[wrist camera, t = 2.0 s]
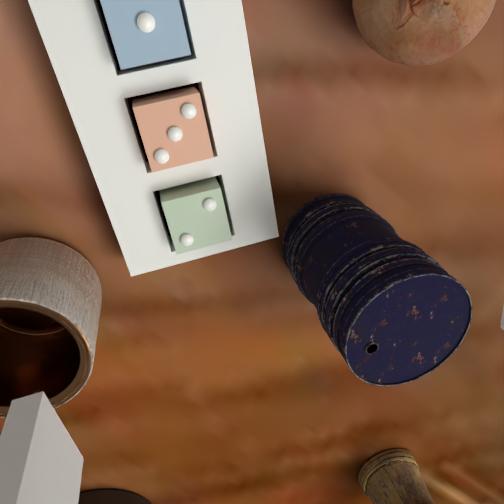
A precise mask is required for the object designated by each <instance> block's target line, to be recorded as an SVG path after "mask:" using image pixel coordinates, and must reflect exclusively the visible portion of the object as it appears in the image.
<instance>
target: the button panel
mask: <svg viewBox="0 0 504 504" xmlns="http://www.w3.org/2000/svg"><path fill="white" fill-rule="evenodd" d="M179 1H180V5H181V10H182V14H183V19H184V23H185V28H186V32H187V37H188V41H189V46H190V50H191V56H186V57H181V58H177V59H172V60H167V61H163V62H158V63H153V64H149V65H144V66H139V67H135V68H130V69H125V70H121V71H118V68H117V65H116V62H115V59H114V55H113V52H112V49H111V45H110V42H109V39H108V36H107V32H106V29H105V26H104V23H103V19H102V16H101V13H100V9H99V6H98V3H97V0H28V2H29V5H30V7H31V10H32V13H33V15H34V18H35V21H36V23H37V26H38V29H39V31H40V34H41V37H42V39H43V42H44V45H45V47H46V50H47V53H48V55H49V58H50V61H51V63H52V66H53V69H54V71H55V74H56V77H57V79H58V82H59V85H60V87H61V90H62V93H63V95H64V98H65V101H66V103H67V106H68V109H69V111H70V114H71V117H72V119H73V122H74V125H75V127H76V130H77V133H78V135H79V138H80V141H81V143H82V146H83V149H84V151H85V154H86V157H87V159H88V162H89V165H90V167H91V170H92V173H93V175H94V178H95V181H96V183H97V186H98V189H99V191H100V194H101V197H102V199H103V202H104V205H105V207H106V210H107V213H108V215H109V218H110V221H111V223H112V226H113V229H114V231H115V234H116V237H117V239H118V242H119V245H120V247H121V250H122V253H123V255H124V258H125V261H126V263H127V266H128V269H129V271H130V274H131V277H132V276H135V275H139V274H143V273H146V272H150V271H154V270H157V269H161V268H165V267H168V266H172V265H176V264H180V263H183V262H187V261H191V260H194V259H198V258H202V257H205V256H209V255H213V254H217V253H220V252H224V251H228V250H231V249H235V248H239V247H242V246H246V245H250V244H254V243H257V242H261V241H265V240H268V239H272V238H276V237H279V234H278V227H277V221H276V215H275V209H274V202H273V196H272V190H271V183H270V177H269V171H268V165H267V158H266V152H265V146H264V139H263V133H262V127H261V121H260V114H259V108H258V102H257V95H256V89H255V83H254V77H253V70H252V64H251V58H250V51H249V45H248V39H247V33H246V26H245V20H244V14H243V7H242V1H241V0H179ZM197 82H198V86H199V91H200V95H201V100H202V104H203V109H204V114H205V118H206V123H207V127H208V132H209V136H210V141H211V145H212V146H211V147H212V151H213V156H214V158H210V159H205V160H201V161H197V162H193V163H189V164H185V165H181V166H177V167H173V168H168V169H164V170H160V171H156V172H152V171H151V167H150V164H149V161H148V162H146V160H145V157H144V153H143V150H142V147H141V144H140V140H139V137H138V134H137V131H136V127H135V124H134V121H133V117H132V114H131V111H130V108H129V104H128V101H127V98H129V97H134V96H138V95H143V94H147V93H152V92H156V91H161V90H165V89H170V88H174V87H179V86H184V85H188V84H193V83H197ZM214 176H218V177H219V181H220V186H221V190H222V195H223V199H224V204H225V208H226V213H227V217H228V223H229V228H230V232H231V237H232V240H230V241H226V242H222V243H218V244H215V245H211V246H207V247H203V248H200V249H196V250H192V251H189V252H185V253H181V254H177V253H176V250H175V247H174V244H173V240H172V237H171V236H169V235H168V232H167V229H166V226H165V222H164V219H163V216H162V212H161V209H160V206H159V203H158V199H157V196H156V193H155V191H158V190H162V189H166V188H170V187H174V186H178V185H182V184H186V183H190V182H194V181H198V180H202V179H206V178H210V177H214Z"/></svg>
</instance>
